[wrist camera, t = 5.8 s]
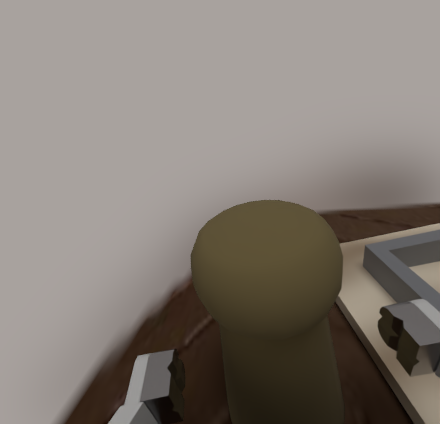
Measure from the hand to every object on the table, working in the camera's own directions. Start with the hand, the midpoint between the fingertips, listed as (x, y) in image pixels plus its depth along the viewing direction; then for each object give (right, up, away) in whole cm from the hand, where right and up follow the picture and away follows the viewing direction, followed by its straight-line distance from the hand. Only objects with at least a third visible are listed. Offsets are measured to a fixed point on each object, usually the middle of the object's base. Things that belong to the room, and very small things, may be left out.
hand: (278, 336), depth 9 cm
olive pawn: (+1, -5, +4) cm, 6 cm away
